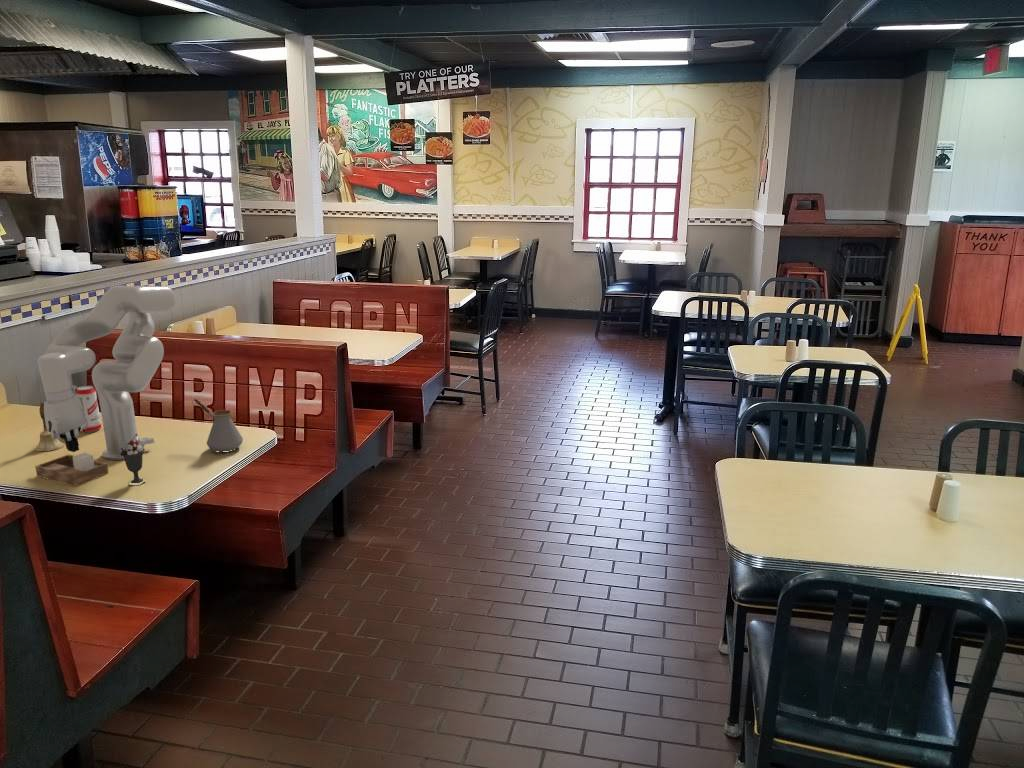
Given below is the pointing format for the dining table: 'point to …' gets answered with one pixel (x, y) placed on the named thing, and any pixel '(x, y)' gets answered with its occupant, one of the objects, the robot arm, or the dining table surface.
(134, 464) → the sundae
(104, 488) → the dining table surface
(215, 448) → the coffee pot
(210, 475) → the dining table surface
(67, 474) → the tray
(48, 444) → the hand bell
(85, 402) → the beer can
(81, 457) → the block
